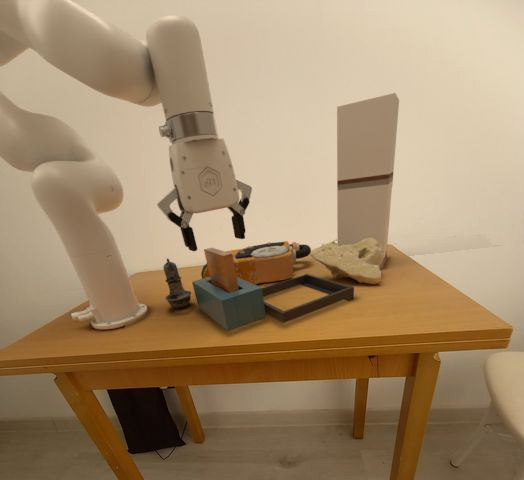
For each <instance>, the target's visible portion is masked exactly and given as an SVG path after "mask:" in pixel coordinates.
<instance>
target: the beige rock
mask: <svg viewBox="0 0 524 480" xmlns="http://www.w3.org/2000/svg"><path fill="white" fill-rule="evenodd" d="M336 241H337V242H336ZM309 255H310V256H311V258H312V259H314V260H315V261H317V262H319V263H321V264H322V265H323V266H324V267H325V268H326V269H327V270H328V271H329V272H330V274H331V275H332V278H334V279H335V280H336V279H338V278H341V279H344V278H350V279H351V278H352V279H354V280H355V281H356V282H358V283H359V284H363V283H364V284H371V285H376V284H378V283H380V282H381V280H382V271H381V269H380V268H379V267H380V266H381V264H382V262H383V260H384V258H383V257H384V252H383V247H382V246H381V245H380V243H379V242H378V241H376V240H375V239H373V238H367V239H364V240H362V241H360V242H358V243H356V244H352V245H341V246H338V238H336V239H333V240H332V241H330V242H328V243H322V244H321V246H319V247H317V248H314V249H312V250H311V253H310V254H309Z"/></svg>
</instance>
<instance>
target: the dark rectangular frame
mask: <svg viewBox="0 0 524 480" xmlns="http://www.w3.org/2000/svg"><path fill="white" fill-rule="evenodd" d="M297 286H303V287H306V288H309V289H312V290H314V291H318V292H320V293H323V294H326V295H324V296H321V297H319V298H316V299H313V300H310V301H307V302H305V303H302V304H299V305H297V306H295V307H291V308H288V309H285V310H283V309H281V308H278V307H276V306H275V305H272V304H271V303H268V302H266V301H264V308H265V314H267V315H269V316H270V317H272V318H274V319H275V320H277V321H279V322H281V323H286V322H289V321H292V320H294V319H297V318H299V317H303V316H306V315H308V314H311V313H313V312H315V311H318V310H320V309H323V308H325V307H328V306H330V305H331V306H332V305H334V304H336V303H338V302H342V301H343V300H344V301H347V302H350V301H352V300H354V299H355V287H354V286H351V285H348V284H344V283H341V282H337V281H334V280H331V279H327V278H324V277H319V276H316V275H313V274H310V273H304V274H302V275H298V276H295V277H291V278H289V279H286V280H281V281H278V282H277V283H273V284H270V285H267V286H264V287H261V288H262V294H263V298H264V297H267V296H271V295H274V294H277V293H280V292H282V291H285V290H289V289H291V288H295V287H297Z"/></svg>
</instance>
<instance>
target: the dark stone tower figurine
mask: <svg viewBox="0 0 524 480" xmlns="http://www.w3.org/2000/svg"><path fill="white" fill-rule="evenodd" d="M163 271H164V275H165V278H166V279H165V282H166V283H167V286H168V289H169V294H167V295H166V296H165V298H164V299H165V301H167V303H168V304H169V305H170V306H171V307H172V308H176V309H178V310H181V309H185V308H186V307H187V305H189V303H191V298H192V297H191V295H192V292H191V291H189V290H185V288H184V286H183V283H182V280H181V279H182V276H180V274H179V270H178V266H177V264H176V263H175V262H173V261H170V259H169V258H168V257H167V258H166V263H164V264H163Z"/></svg>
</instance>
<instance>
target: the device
mask: <svg viewBox="0 0 524 480" xmlns="http://www.w3.org/2000/svg"><path fill="white" fill-rule="evenodd" d="M225 252H228V253H232V254H233V260H234V266H235V271H236V277H238V278H240V279H243V280H245V281H247V282H250V283H252V284H254V285H259V284H263V283H264V284H265V283H275V282H277V283H278V282H282V281H286V280H289V279H292V278H294V267H293V266H294V265H295V262H296V261H297V259H298V260H299V259H303V258H306V257H309V255H310V253H311V252H312V249H311V247H310V246H309V245H308V244H300V243H299V242H297V241H292V242H291V243H289V241H288V240H285V241H278V242H277V241H275V242H266V243H262V244H256V245H250V246H247V247H243V248H239V249H238V248H237V249H231V250H225ZM200 274H201V279H203V278H207V277H210V274H209V270H208V266H207V263H205V264H204V265H203V266H202V270H201V272H200Z"/></svg>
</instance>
